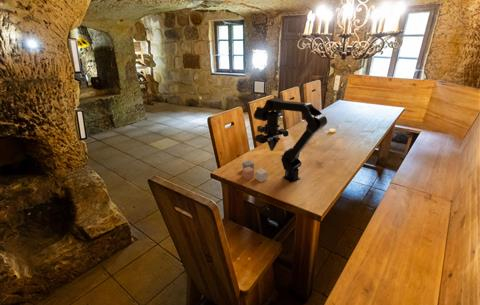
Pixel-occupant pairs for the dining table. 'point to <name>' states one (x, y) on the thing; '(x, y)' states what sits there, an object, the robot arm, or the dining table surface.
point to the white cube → (261, 175)
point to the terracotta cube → (248, 173)
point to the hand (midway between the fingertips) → (271, 150)
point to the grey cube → (248, 164)
